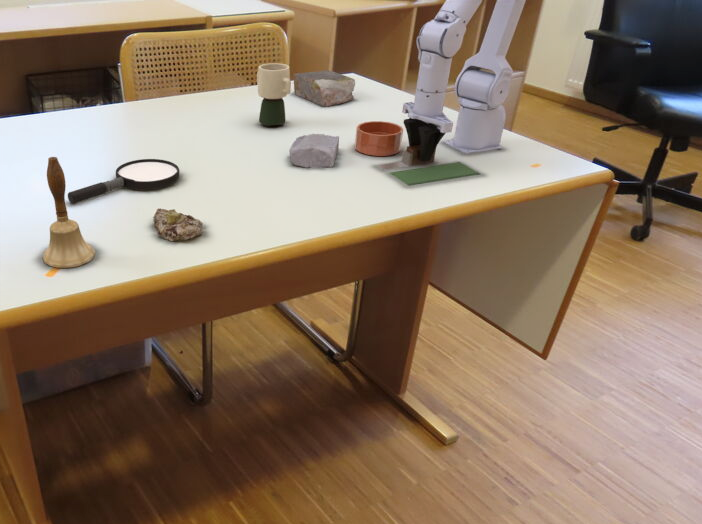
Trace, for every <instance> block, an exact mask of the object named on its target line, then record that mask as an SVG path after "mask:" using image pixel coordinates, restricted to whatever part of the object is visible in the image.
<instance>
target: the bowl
mask: <svg viewBox="0 0 702 524" xmlns="http://www.w3.org/2000/svg"><path fill="white" fill-rule="evenodd" d="M403 136H404V128H403V126H401V125H399V124H397V123H394V122H389V121H381V120H380V121H379V120H378V121H377V120H376V121H375V120H373V121H365V122H361V123H359V124H358V125H357V126H356V130H355V139H354V149H355V150H356V151H357V152H359V153H361V154H364V155H367V156H374V157H387V156H393V155H396V154H398V153H399V152H400V151H401V149H402V142H403Z"/></svg>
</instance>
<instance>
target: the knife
mask: <svg viewBox="0 0 702 524" xmlns="http://www.w3.org/2000/svg"><path fill="white" fill-rule="evenodd" d="M420 148H421V145H415V146H409V145H407V146H406V150H405V149H404V150H403V151H402V156H401V161H397V162H390V163H384V164H383V163H382V164H378V165H376V167H378V168H379V169H381V170H382V171H385V170H392V169H398V168H405V167H411V166H417V165H423V164H430V163H434V162H435V156H436V150H437V148H436V149H435V151H434V153H433V155H432V158H431V160H430V161H424V162H422V161H420Z"/></svg>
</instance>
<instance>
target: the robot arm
mask: <svg viewBox="0 0 702 524" xmlns="http://www.w3.org/2000/svg"><path fill="white" fill-rule="evenodd" d="M526 1H527V0H496V2H495V5H494V8H493V11H492V13H491V16H490V20H489V22H488V26H487V28H486V31H485V34H484V37H483V39H482V42H481V45H480V48H479V51H478V52H477V53H476V54H474V55H472V56H471V57H469V58H468V59H466V60H465V61H464V65H463V67H462V70H461V71H460V73H459V74H458V76H457V77H456V78H455V79H456V80H455V82H454V83H455V84H454V95H455V96H456V97H457V103H458V104H459V109H458V114H457V120H456V125H455V129H454V130H455V131H454V135H453V139H446V140H444V144H446V145H448V146H450V147H451V148H453V149H455V150H457V151H459V152H461V153H463V154H467V155H468V154H473V153H481V152H487V151H494V150H495V151H496V150H501V149H502V148H503V147H502V145H500V144H501V140H502V136H503V132H504V127H505V123H506V116H507V115H506V108H505V107H504V105H502V104H503V103H504V102H505V101H506V99H507V97H508V95H509V92H510V88H511V80H512V76H513V74H514V70H513V68H512V66H511V65H510V64H509V62H508V61H507V59H506V56H507V54H508V50H509V48H510V44H511V42H512V40H513V38H514V34H515V31H516V29H517V26H518V24H519V21H520V18H521V15H522V13H523V10H524V7H525V4H526ZM482 3H483V0H445V1H444V3H443V4H442V6H441V8H440V9H439V11H438V12H437V14H436V15H435V17H434V18H433V19H431V20H430V21H427V22H426V23H425V24H423V25H422V26H421V29H420V30H419V34H418V36H417V37H416V47H417V50H418V56H417V57H418V58H417V60H418V62H419V68H418V75H417V81H416V88H415V95H414V101H408V102H403V104H402V109H401V110H402V111H401V112H402V113H403V114H407V118H405V119H403V125H404V128H405V130H406V134H407V140H408V146H415V145H421V148H420V161H422V162H424V161H430V160H431V158H432V155H433V153H434V151H435V149H436V150H437V147H438V145H439V143H440V141H441V140H442V139H443V138H444V136H445V135H446V134H448V133H452V131H453V126H454V121H452V120H450V119H449V117H447V115H446V114H445V113H444V107H445V100H446V97H447V90H448V84H449V77H450V73H451V72H450V71H451V67H452V61H453V56H455V55H456V54H457V53H458V51H459V50H460V49H461V47H462V44H463V41H464V36H465V34H466V33H467V25H468V24H469V22H470V21H471V19H472V18H473V16H474V15H475V13H476V11H477V10H478V8H479V7H480V6H481V4H482ZM483 69H486V70H490V71H492V72H489V71H485V70H483ZM493 72H494V73H493Z"/></svg>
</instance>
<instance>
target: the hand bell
mask: <svg viewBox="0 0 702 524" xmlns="http://www.w3.org/2000/svg"><path fill="white" fill-rule="evenodd" d="M47 161H48V163H47V168H46V180H47V185H48V188H49V191H50V193H51V195H52V197H53V201H54V207H55V215H56V220H55V221H54V222H53V223H51V224H50V226H49V243H48V246H47V248H46V250H45V251H44V252H43V254H42V261H43V263H44V264H46V265H47V266H49V267H51V268H56V269H71V268H76V267H80V266H83V265H85V264H88V263H89V262H91V261H92V260H94V258H95V256H96V251H95V249H94V248H93V246H92V245H91V244H90V243H87V242H86V240H85V239H84V237H83V235H82V232H81V229H80V225H79V223H78V222H77V221H75V220H73V219H69V215H68V214H69V213H68V210H67V209H68V208H67V205H66V199H65V197H66V195H65V194H66V187H67V186H66V177H65V173H64V170H63V168H62V166H61V164H60V162H59V159H58V157H57V156H50V157H48V160H47ZM46 255H47V256H46Z"/></svg>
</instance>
